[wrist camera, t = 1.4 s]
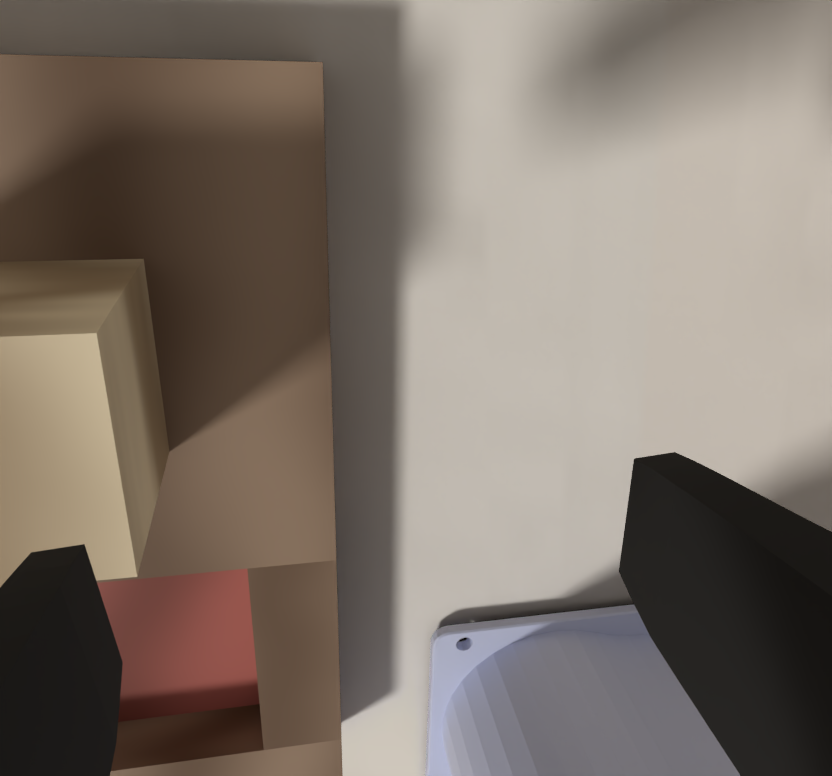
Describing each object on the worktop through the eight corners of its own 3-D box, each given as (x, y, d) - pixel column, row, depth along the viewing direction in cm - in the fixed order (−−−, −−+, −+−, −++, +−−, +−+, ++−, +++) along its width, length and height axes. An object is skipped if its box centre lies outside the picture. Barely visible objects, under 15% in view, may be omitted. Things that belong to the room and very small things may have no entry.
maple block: (143, 258, 15) (96, 333, 11) (169, 451, 17) (137, 576, 13) (-100, 264, 14) (-250, 346, 10) (-45, 465, 16) (-153, 604, 12)
